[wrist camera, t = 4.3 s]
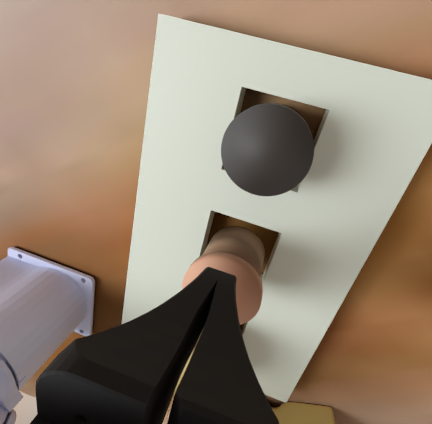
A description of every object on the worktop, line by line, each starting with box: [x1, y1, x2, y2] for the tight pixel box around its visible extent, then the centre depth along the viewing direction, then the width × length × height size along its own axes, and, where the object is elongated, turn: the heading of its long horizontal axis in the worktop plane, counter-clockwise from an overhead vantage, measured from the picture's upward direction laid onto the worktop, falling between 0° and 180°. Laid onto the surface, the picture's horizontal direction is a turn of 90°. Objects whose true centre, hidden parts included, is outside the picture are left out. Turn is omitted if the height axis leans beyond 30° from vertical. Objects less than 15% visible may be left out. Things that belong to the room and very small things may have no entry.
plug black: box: [221, 103, 314, 196], centre depth 17 cm, size 5×5×5 cm
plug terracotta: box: [182, 226, 265, 325], centre depth 19 cm, size 5×5×5 cm
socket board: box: [121, 13, 432, 403], centre depth 22 cm, size 16×26×2 cm, turn 167°
